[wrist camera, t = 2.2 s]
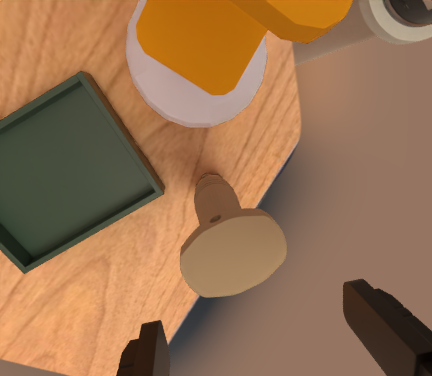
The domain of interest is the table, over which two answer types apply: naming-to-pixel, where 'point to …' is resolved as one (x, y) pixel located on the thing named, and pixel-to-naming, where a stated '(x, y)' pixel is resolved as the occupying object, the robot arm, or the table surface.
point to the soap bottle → (214, 51)
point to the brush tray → (67, 172)
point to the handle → (229, 243)
